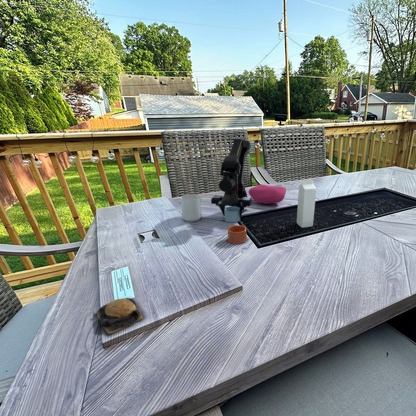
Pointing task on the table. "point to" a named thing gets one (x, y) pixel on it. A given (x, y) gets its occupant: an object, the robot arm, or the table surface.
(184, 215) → the mug
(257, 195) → the pink bowl shaped lump
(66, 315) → the table surface
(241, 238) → the cup
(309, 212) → the milk
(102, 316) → the brown and black burger
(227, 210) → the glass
